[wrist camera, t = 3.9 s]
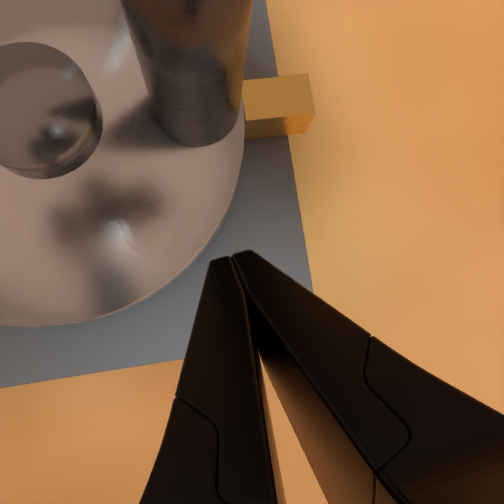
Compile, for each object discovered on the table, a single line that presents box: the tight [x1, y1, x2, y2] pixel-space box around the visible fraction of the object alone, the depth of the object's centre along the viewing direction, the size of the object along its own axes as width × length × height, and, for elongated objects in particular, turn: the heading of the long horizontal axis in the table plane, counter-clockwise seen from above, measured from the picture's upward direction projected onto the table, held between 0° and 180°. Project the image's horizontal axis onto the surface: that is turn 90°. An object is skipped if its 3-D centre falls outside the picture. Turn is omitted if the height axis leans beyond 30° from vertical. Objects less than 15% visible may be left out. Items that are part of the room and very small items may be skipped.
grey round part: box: [0, 0, 315, 327], centre depth 9 cm, size 11×13×10 cm
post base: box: [0, 0, 313, 388], centre depth 14 cm, size 14×14×6 cm
